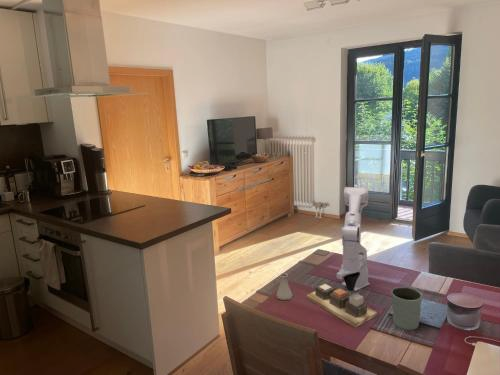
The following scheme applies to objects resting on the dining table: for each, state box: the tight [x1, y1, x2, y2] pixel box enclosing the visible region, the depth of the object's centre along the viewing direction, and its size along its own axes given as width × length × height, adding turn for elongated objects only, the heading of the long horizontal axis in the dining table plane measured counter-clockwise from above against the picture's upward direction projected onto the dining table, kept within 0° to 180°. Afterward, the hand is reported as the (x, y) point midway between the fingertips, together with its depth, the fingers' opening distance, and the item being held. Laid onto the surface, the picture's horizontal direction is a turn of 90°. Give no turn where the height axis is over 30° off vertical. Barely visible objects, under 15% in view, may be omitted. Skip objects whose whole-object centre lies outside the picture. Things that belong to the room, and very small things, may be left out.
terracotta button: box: [333, 288, 348, 299], centre depth 145 cm, size 4×4×3 cm
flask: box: [275, 272, 294, 301], centre depth 155 cm, size 7×7×10 cm
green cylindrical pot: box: [390, 286, 423, 331], centre depth 133 cm, size 10×10×12 cm
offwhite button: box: [319, 283, 332, 291], centre depth 152 cm, size 4×4×3 cm
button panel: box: [305, 282, 378, 328], centre depth 146 cm, size 12×26×5 cm, turn 34°
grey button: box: [349, 292, 364, 307], centre depth 138 cm, size 4×4×3 cm
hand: (350, 290), depth 140 cm, fingers closed
